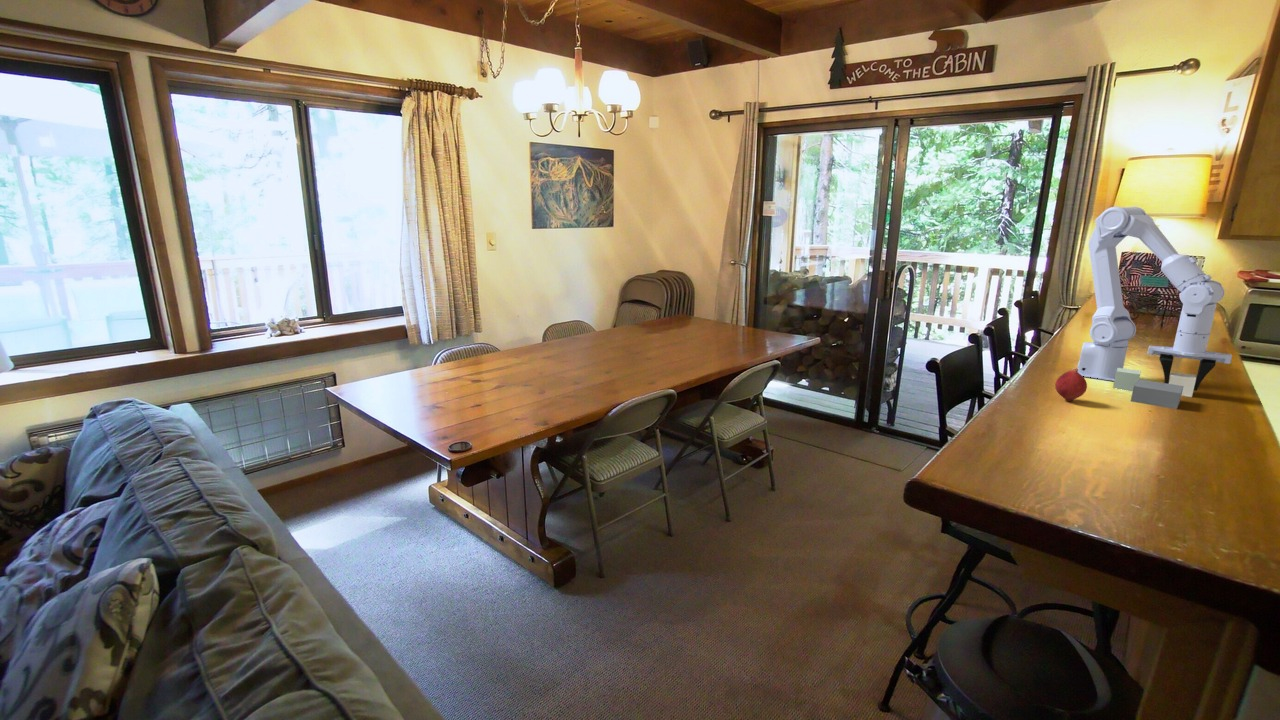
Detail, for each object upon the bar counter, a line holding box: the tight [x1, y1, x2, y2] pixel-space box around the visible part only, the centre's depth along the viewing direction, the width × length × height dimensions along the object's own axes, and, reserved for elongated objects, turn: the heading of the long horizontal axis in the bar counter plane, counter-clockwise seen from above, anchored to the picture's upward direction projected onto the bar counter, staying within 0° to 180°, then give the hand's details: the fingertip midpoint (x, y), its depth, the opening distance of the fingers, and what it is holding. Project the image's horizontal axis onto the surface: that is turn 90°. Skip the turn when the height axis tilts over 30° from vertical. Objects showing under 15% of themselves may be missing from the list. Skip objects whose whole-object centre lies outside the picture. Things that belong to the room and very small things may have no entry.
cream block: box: [1169, 371, 1197, 398], centre depth 140 cm, size 4×4×4 cm
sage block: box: [1112, 367, 1142, 392], centre depth 144 cm, size 4×4×4 cm
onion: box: [1054, 367, 1088, 402], centre depth 134 cm, size 6×6×8 cm
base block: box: [1130, 378, 1184, 410], centre depth 134 cm, size 8×8×4 cm
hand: (1180, 387), depth 140 cm, fingers closed on cream block, 4 cm apart
